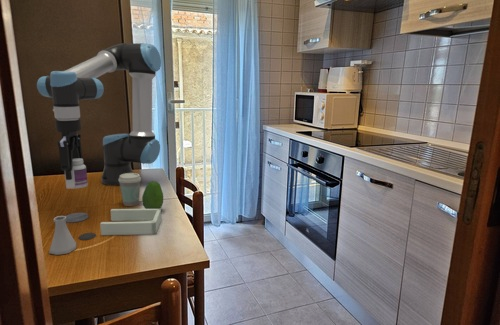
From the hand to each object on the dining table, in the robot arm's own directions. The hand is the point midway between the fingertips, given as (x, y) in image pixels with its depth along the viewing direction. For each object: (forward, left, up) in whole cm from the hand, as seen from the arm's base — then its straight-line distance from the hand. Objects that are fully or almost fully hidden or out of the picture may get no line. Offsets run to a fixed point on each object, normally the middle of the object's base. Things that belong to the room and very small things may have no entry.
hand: (74, 185), depth 116 cm
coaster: (0, -1, -12) cm, 12 cm away
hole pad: (+15, +8, -12) cm, 21 cm away
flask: (+23, +4, -13) cm, 27 cm away
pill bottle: (0, +2, -1) cm, 2 cm away
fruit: (-6, +25, -13) cm, 29 cm away
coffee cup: (-14, +15, -13) cm, 24 cm away
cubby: (+8, +20, -12) cm, 25 cm away
